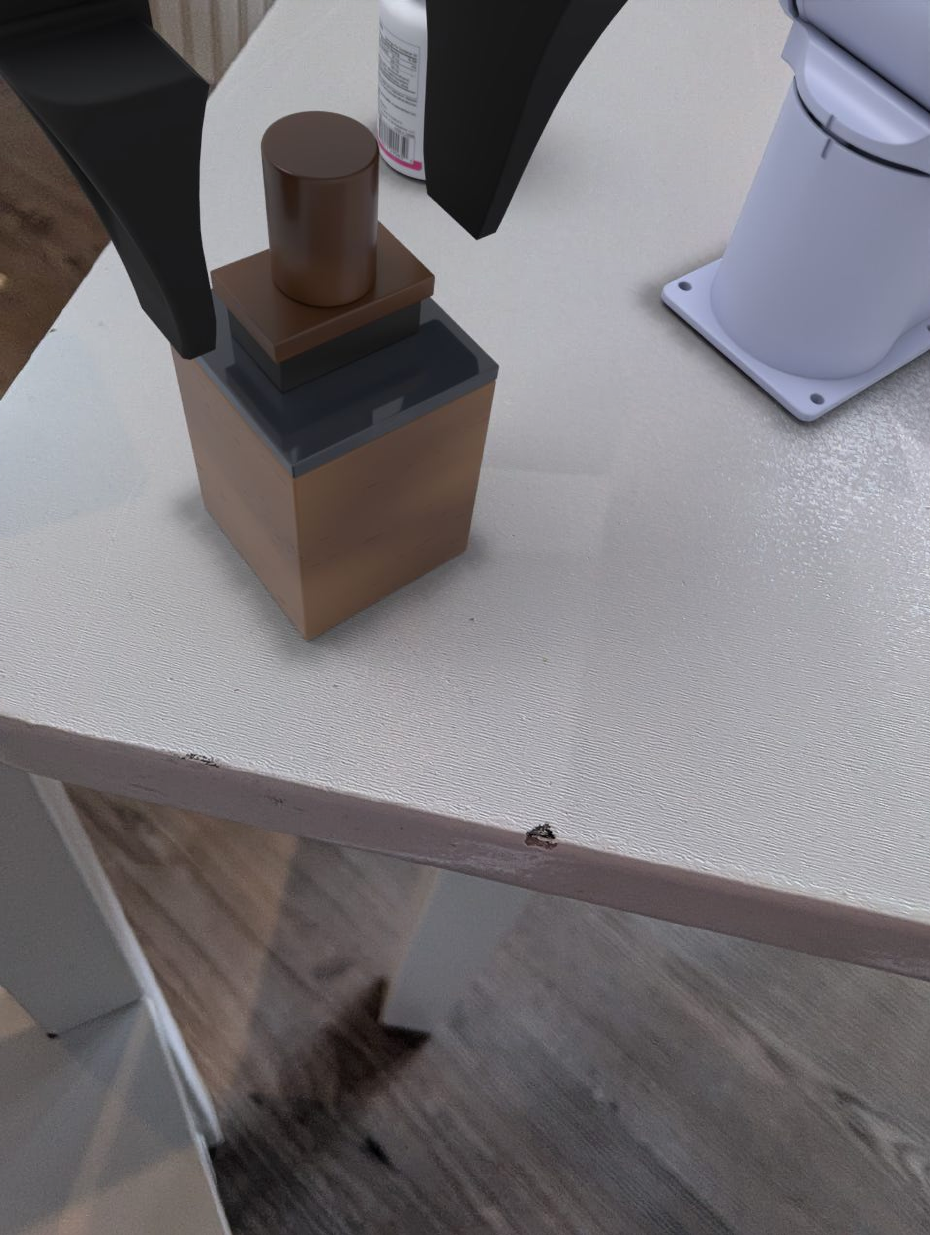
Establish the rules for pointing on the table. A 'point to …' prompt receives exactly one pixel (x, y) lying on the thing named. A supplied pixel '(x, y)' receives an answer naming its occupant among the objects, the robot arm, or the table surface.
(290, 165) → the rubber stamp
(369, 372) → the tile
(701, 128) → the table surface
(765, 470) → the table surface
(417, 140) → the pill bottle
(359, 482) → the stand
